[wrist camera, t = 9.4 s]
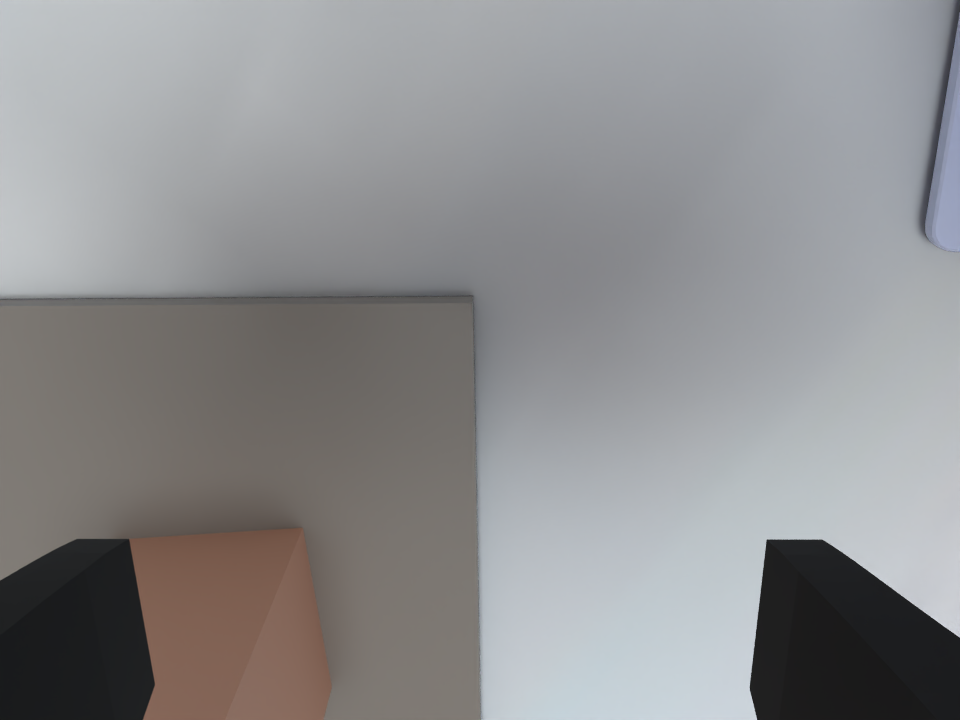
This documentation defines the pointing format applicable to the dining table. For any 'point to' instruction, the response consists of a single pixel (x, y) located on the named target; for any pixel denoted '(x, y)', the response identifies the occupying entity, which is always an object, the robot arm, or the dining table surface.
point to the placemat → (268, 460)
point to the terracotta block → (232, 626)
